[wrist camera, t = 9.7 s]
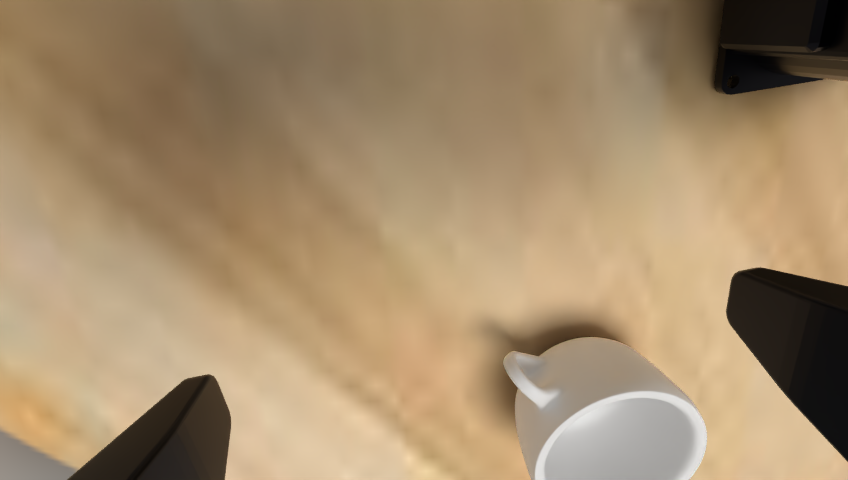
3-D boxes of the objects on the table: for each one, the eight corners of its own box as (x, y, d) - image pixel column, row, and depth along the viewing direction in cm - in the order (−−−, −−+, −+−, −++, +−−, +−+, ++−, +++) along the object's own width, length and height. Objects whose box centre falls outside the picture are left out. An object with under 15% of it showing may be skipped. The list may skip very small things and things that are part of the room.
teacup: (667, 361, 25) (741, 440, 20) (565, 450, 27) (612, 543, 22) (543, 262, 22) (598, 330, 17) (436, 373, 24) (458, 463, 19)
